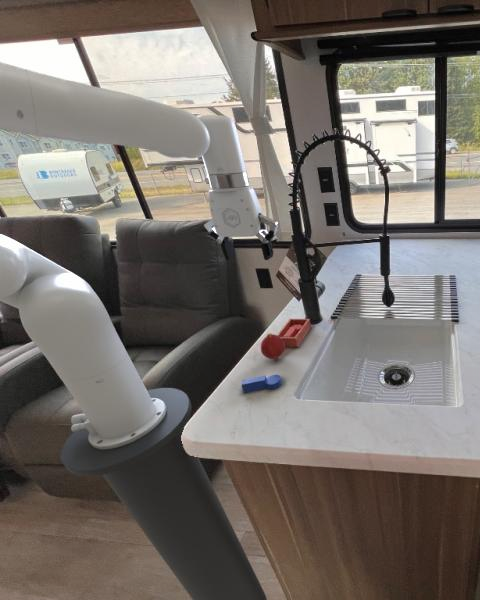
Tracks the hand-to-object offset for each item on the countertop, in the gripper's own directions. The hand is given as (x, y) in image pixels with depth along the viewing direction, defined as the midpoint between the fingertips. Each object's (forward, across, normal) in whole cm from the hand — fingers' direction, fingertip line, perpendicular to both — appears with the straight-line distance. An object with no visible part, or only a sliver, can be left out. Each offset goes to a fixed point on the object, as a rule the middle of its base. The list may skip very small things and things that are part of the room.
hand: (249, 258), depth 74 cm
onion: (+26, +3, -4) cm, 27 cm away
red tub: (+26, +4, +6) cm, 27 cm away
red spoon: (+26, +3, +6) cm, 27 cm away
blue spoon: (+26, +5, -15) cm, 31 cm away
